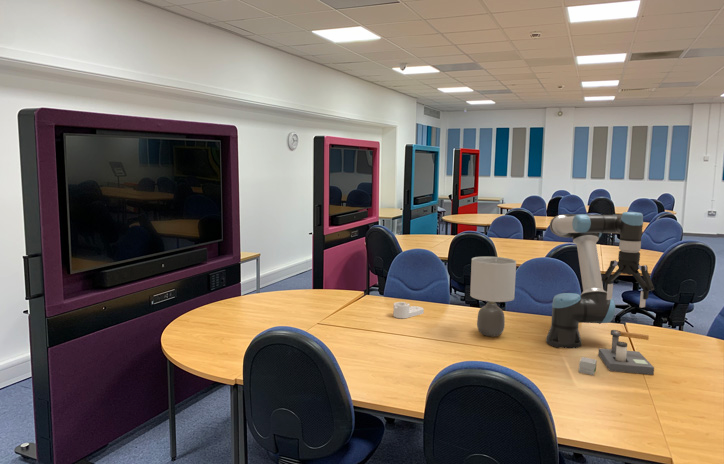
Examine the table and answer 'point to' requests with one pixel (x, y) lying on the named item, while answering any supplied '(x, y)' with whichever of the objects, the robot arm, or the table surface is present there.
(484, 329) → the lamp
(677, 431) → the table surface
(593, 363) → the small box
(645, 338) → the clip
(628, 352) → the socket plate
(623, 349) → the plug
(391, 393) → the table surface
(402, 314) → the bracket
